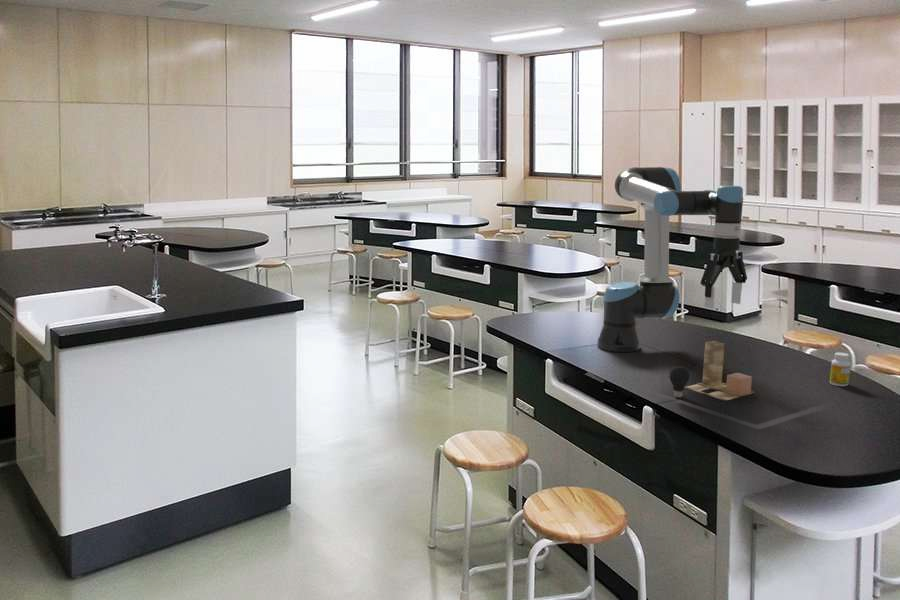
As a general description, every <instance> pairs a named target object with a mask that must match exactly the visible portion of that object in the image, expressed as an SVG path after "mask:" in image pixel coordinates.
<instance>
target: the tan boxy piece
mask: <svg viewBox="0 0 900 600" xmlns="http://www.w3.org/2000/svg"><path fill="white" fill-rule="evenodd" d="M725 346H726V345H725V342H720V341H716V340H712V341H706V342H704V352H703V353H704V355H703V369H702V382H700V383H701V384H704V385H707V386H711V387H714V388H717V389H721V390H724V391H726V385H723V384H721V383H723V382H722V381H723V370H724V369H723V367H724V356H725V355H724V354H725ZM752 394H753V393H748V394H745V395H741V397H744V396H748V395H752Z"/></svg>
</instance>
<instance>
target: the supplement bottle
mask: <svg viewBox="0 0 900 600" xmlns="http://www.w3.org/2000/svg"><path fill="white" fill-rule="evenodd" d="M849 359H850V353H846V352H835V354H834V359H832V360H831V365H830V374H829V384H830V385H833V386H837V387H846V386H848V385H849V381H850V373H851V361H849Z"/></svg>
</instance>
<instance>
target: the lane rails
mask: <svg viewBox="0 0 900 600" xmlns="http://www.w3.org/2000/svg"><path fill="white" fill-rule="evenodd" d="M701 383H702V382H697V383H696V384H698V385H701V386H704V387H707V388H710V389H712V390H715V391H720V392H724V393H727V394H730V395H734V396H737V398H740V397H742V396H740V395H737V394H734V393H730V392H727V391H724V390H721V389H717V388H714V387H711V386H707V385H704V384H701ZM721 384H723V385H726V384H727V382H726V383H725V382H722V383H721ZM684 389H687V390H689V391H693V392H696V393H700V394H703V395H704V396H709V397H713V398H715V399H719V400H722V401H725V402H727V401H728V400H727V399H724V398H721V397H717V396H714V395H711V394H708V392H704V391H698V390H695V389H692V388H689V387H687V386H685V387H684ZM751 393H752V394H755V391H752V390H751Z"/></svg>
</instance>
